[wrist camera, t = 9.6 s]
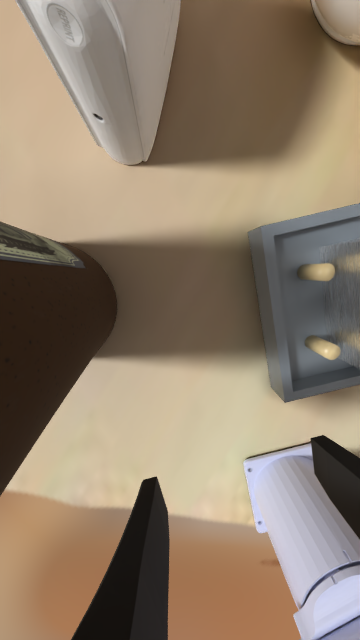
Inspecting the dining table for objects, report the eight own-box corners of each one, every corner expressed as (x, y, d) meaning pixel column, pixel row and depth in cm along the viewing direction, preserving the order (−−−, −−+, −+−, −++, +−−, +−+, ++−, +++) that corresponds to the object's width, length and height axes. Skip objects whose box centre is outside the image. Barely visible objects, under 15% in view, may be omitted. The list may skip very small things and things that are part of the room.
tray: (414, 352, 21) (462, 368, 18) (271, 387, 21) (291, 410, 18) (416, 192, 18) (475, 174, 15) (247, 232, 18) (267, 223, 15)
